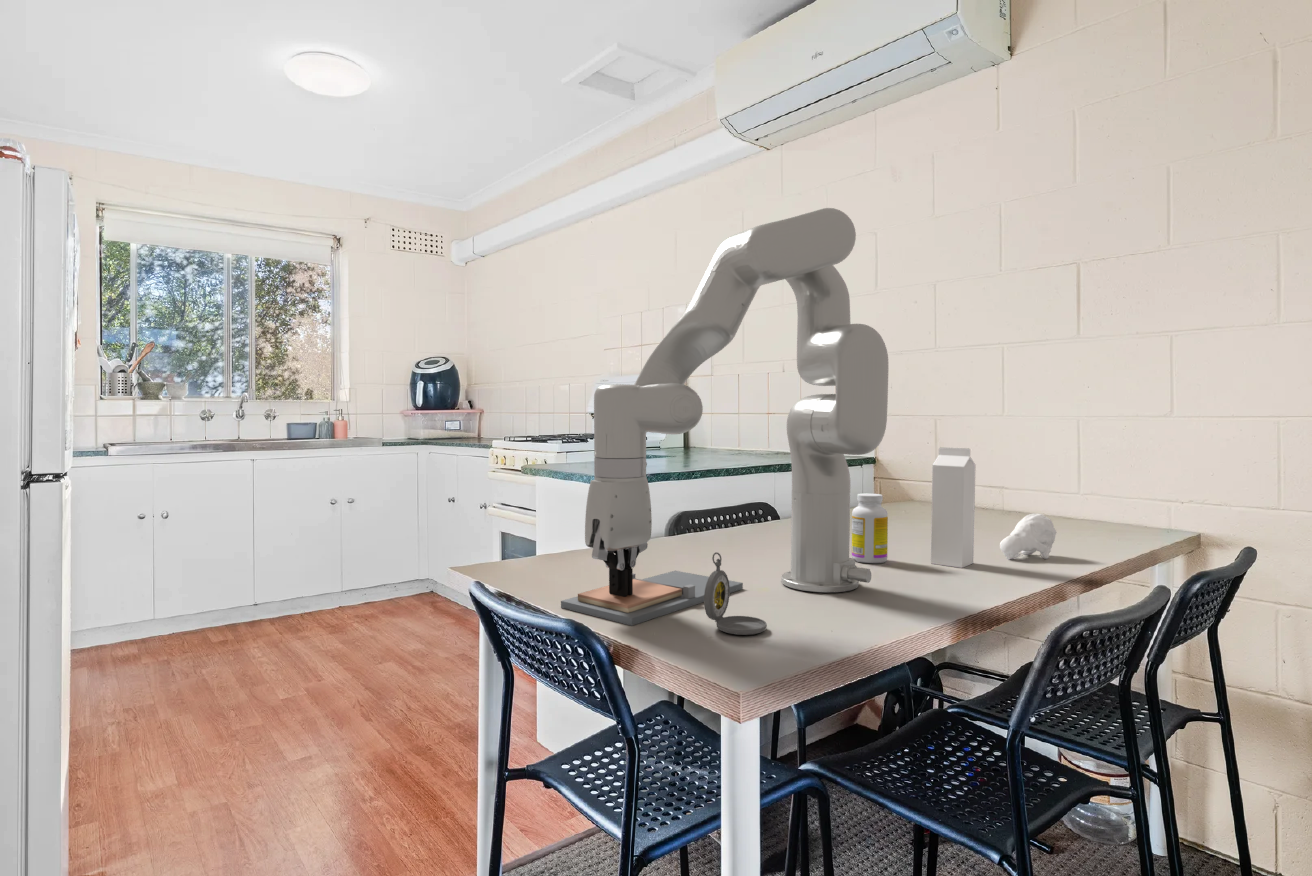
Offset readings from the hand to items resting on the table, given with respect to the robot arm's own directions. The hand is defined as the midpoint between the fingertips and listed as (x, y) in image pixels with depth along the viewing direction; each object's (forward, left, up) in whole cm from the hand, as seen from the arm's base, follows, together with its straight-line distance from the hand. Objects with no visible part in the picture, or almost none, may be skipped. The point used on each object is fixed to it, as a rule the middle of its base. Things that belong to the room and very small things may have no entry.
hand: (620, 594), depth 110 cm
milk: (-26, -65, -2) cm, 70 cm away
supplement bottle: (-13, -57, -2) cm, 58 cm away
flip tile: (0, -3, 0) cm, 3 cm away
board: (0, -8, -2) cm, 8 cm away
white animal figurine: (-35, -80, -2) cm, 87 cm away
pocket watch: (-18, -3, -2) cm, 18 cm away
